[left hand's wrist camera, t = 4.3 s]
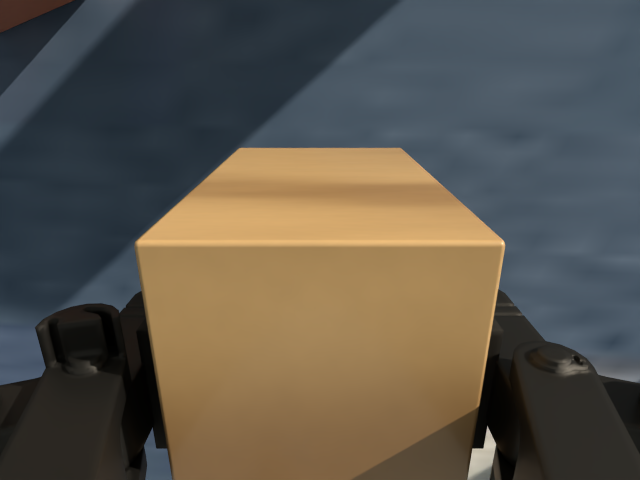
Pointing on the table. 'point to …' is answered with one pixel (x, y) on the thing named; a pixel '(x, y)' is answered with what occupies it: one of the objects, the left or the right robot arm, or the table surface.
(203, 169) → the table surface
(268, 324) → the wood beam
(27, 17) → the terracotta block
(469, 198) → the table surface
